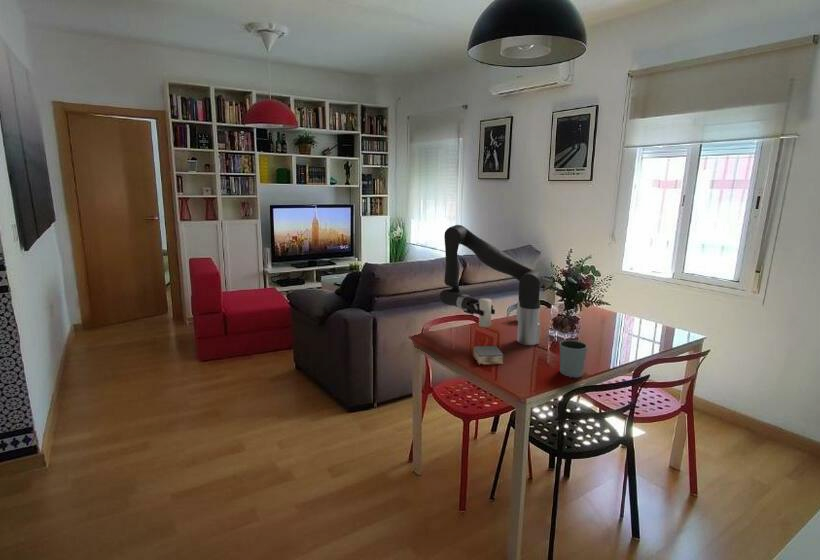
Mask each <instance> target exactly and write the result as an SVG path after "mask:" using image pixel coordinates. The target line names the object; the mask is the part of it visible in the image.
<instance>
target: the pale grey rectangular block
mask: <svg viewBox="0 0 820 560" xmlns="http://www.w3.org/2000/svg"><path fill="white" fill-rule="evenodd" d="M492 302H493V301H492V299H491V298H488V297H484V298H483V297H482V298H479V303H480V305H479V309H480V310H482V311H484V316H481V315H479V314H478V316H479V317H478V326H479V327H480V328H490V327H492V326H491V325H492V323H491V321H492V314H491V305H492Z"/></svg>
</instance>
